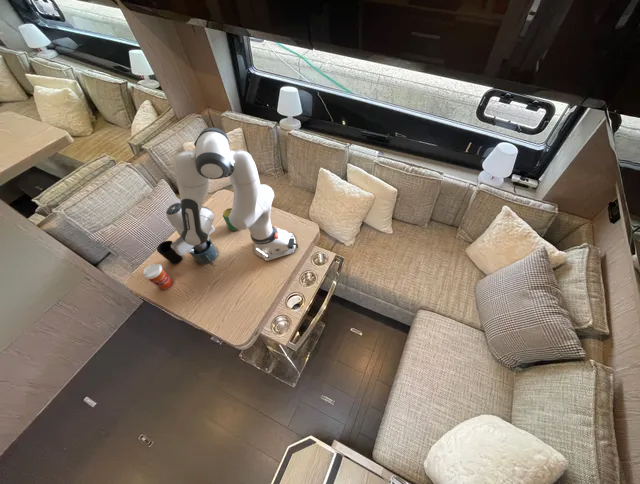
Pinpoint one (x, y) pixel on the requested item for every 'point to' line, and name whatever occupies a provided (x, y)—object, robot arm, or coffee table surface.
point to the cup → (169, 252)
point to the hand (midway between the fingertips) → (200, 246)
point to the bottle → (201, 248)
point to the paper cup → (157, 276)
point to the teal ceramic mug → (205, 254)
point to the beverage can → (226, 218)
